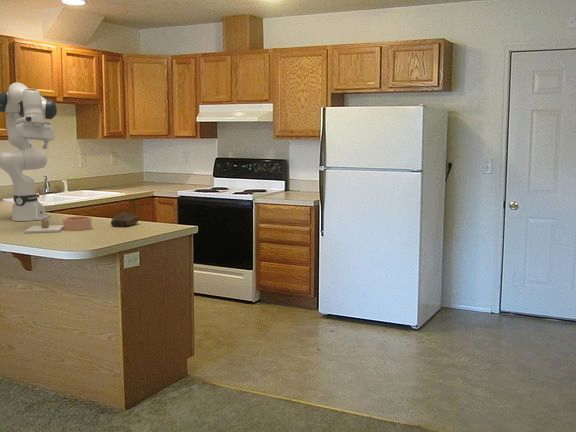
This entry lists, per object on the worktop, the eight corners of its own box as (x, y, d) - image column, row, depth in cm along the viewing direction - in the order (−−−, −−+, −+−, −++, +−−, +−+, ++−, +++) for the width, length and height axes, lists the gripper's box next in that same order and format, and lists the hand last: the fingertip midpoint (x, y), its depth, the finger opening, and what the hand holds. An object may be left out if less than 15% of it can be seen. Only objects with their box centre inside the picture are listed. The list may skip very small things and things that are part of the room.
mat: (31, 228, 332) (31, 227, 332) (66, 227, 335) (66, 226, 335) (23, 234, 313) (23, 233, 313) (59, 233, 316) (59, 232, 316)
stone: (108, 227, 337) (108, 216, 335) (124, 221, 349) (123, 210, 348) (125, 229, 333) (125, 218, 332) (140, 223, 346) (140, 212, 345)
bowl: (66, 228, 332) (66, 216, 331) (92, 227, 334) (92, 216, 333) (62, 232, 319) (61, 220, 318) (89, 231, 321) (89, 219, 321)
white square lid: (32, 227, 330) (31, 218, 330) (64, 226, 333) (64, 217, 332) (25, 233, 315) (24, 222, 314) (59, 231, 318) (58, 221, 317)
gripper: (47, 124, 331) (50, 150, 331) (12, 120, 314) (15, 148, 313) (55, 121, 328) (58, 148, 327) (20, 117, 310) (23, 145, 310)
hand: (37, 148), depth 320 cm, fingers open, 8 cm apart
